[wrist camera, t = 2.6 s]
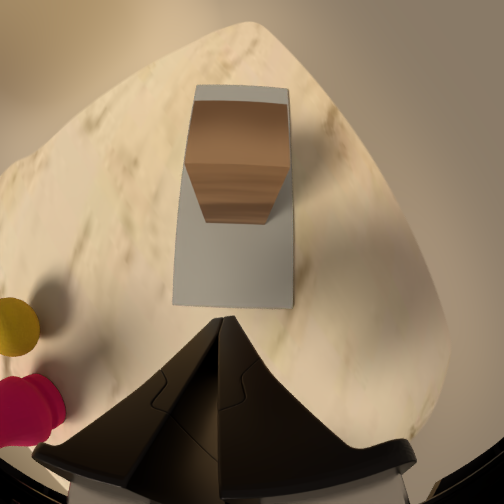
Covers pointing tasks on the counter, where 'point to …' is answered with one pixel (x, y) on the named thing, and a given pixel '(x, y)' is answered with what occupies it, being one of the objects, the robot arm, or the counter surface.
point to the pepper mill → (29, 410)
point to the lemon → (17, 327)
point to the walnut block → (237, 158)
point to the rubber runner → (235, 237)
